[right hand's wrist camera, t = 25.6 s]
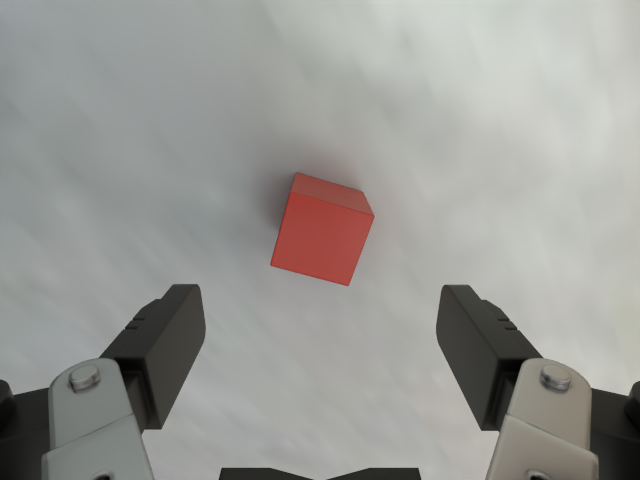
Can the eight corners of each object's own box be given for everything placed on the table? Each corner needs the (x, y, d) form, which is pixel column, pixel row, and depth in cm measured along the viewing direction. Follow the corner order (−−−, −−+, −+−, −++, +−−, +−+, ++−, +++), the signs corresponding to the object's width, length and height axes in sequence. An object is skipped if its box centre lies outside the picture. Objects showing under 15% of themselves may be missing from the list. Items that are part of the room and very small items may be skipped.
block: (296, 172, 20) (290, 191, 16) (363, 191, 21) (375, 215, 16) (280, 233, 22) (269, 266, 17) (343, 250, 22) (348, 286, 18)
